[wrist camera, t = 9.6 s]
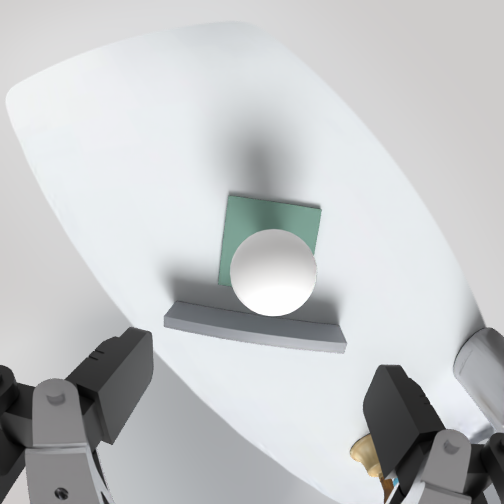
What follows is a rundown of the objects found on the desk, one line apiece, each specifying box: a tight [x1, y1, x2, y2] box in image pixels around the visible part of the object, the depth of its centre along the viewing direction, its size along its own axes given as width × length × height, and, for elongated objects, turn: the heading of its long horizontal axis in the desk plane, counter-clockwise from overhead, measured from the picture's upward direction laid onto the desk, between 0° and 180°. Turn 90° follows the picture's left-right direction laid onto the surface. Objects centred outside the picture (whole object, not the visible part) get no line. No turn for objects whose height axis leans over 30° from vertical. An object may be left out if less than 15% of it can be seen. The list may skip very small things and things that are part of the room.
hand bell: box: [350, 434, 394, 504], centre depth 27 cm, size 8×8×16 cm
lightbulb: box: [230, 229, 317, 316], centre depth 23 cm, size 6×6×11 cm
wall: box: [164, 301, 347, 354], centre depth 28 cm, size 18×1×4 cm, turn 82°
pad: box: [218, 196, 322, 287], centre depth 28 cm, size 9×9×1 cm
